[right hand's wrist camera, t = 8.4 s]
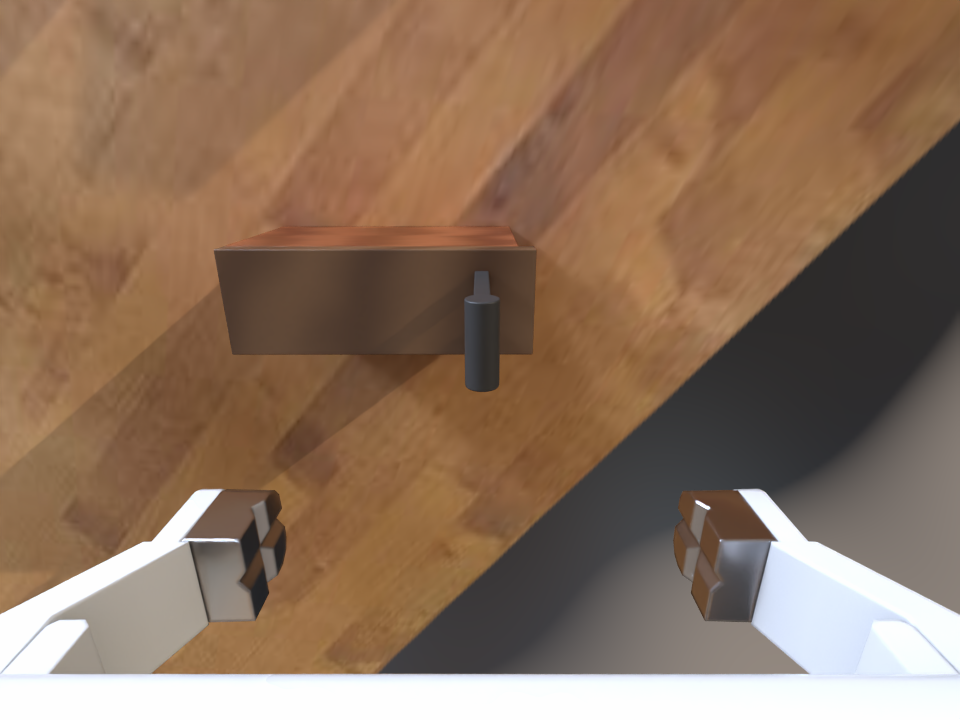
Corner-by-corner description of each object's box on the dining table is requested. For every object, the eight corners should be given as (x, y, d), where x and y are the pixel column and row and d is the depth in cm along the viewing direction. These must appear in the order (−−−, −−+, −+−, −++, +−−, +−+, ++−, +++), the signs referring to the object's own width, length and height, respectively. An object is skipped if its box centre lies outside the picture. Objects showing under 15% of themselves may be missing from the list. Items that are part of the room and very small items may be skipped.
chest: (509, 226, 35) (518, 245, 27) (507, 306, 37) (515, 347, 29) (282, 226, 35) (223, 245, 27) (293, 306, 37) (241, 347, 29)
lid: (534, 245, 27) (555, 278, 19) (530, 348, 29) (548, 412, 21) (223, 246, 27) (124, 279, 19) (240, 348, 29) (157, 413, 21)
